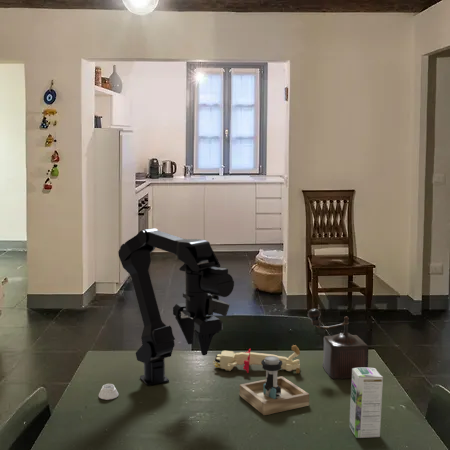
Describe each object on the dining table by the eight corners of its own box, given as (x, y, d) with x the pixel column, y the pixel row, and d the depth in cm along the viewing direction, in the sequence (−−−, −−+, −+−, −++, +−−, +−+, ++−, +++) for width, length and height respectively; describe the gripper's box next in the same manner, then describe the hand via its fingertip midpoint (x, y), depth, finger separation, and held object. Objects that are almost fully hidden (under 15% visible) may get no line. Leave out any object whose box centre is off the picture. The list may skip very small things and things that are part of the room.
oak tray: (239, 395, 162) (239, 384, 161) (282, 386, 167) (282, 376, 167) (264, 415, 150) (264, 403, 150) (309, 405, 156) (309, 394, 155)
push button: (289, 398, 157) (290, 360, 156) (272, 403, 154) (273, 365, 153) (273, 389, 163) (273, 353, 161) (256, 394, 160) (257, 357, 158)
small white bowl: (122, 396, 161) (111, 391, 165) (121, 386, 161) (110, 380, 164) (105, 402, 158) (95, 396, 161) (105, 391, 157) (94, 385, 161)
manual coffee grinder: (355, 363, 184) (357, 305, 182) (368, 378, 174) (370, 316, 171) (304, 366, 182) (305, 307, 180) (314, 380, 171) (316, 318, 169)
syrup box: (348, 426, 144) (350, 367, 142) (373, 425, 145) (375, 366, 143) (355, 438, 139) (357, 376, 136) (381, 437, 139) (383, 376, 137)
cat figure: (297, 368, 184) (214, 359, 186) (300, 340, 183) (216, 331, 184) (299, 381, 174) (211, 372, 176) (302, 352, 173) (213, 342, 175)
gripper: (242, 294, 151) (241, 356, 153) (210, 279, 168) (210, 334, 170) (200, 300, 146) (200, 363, 149) (172, 283, 163) (172, 340, 165)
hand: (197, 349), depth 158 cm, fingers open, 9 cm apart
